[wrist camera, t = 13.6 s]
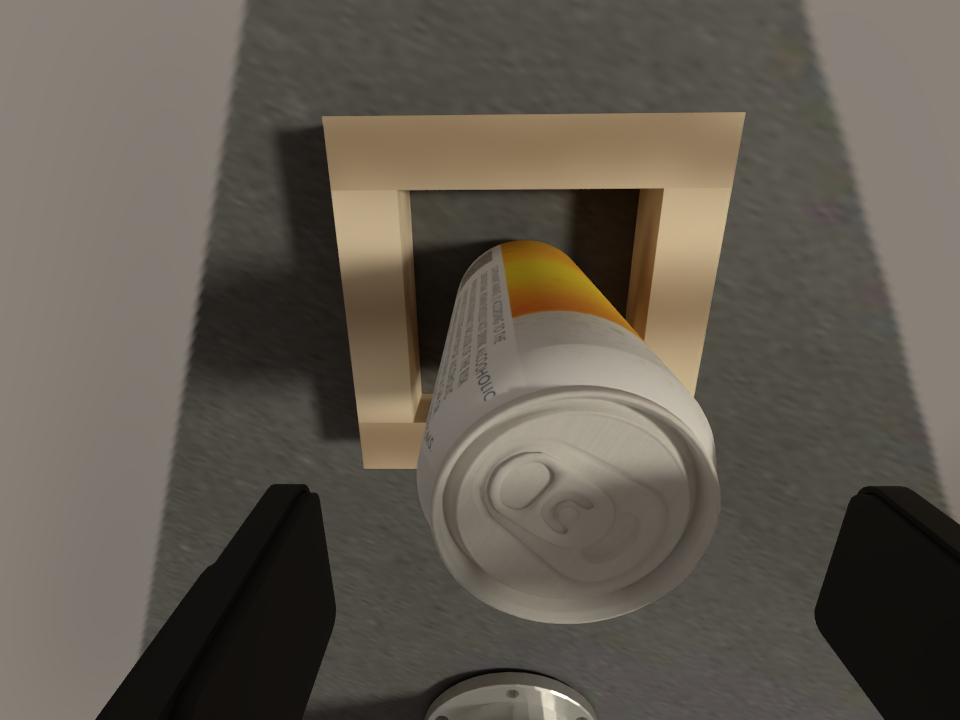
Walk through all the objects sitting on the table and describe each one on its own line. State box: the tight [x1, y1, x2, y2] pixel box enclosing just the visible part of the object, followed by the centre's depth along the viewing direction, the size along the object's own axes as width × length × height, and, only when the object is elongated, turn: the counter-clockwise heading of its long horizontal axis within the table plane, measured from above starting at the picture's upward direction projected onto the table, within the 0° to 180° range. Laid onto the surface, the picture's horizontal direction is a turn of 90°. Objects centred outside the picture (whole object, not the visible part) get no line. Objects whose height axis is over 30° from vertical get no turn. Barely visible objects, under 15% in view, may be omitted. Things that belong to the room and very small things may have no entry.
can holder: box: [322, 112, 746, 469], centre depth 21 cm, size 15×15×3 cm
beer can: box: [417, 240, 721, 624], centre depth 16 cm, size 6×6×15 cm
